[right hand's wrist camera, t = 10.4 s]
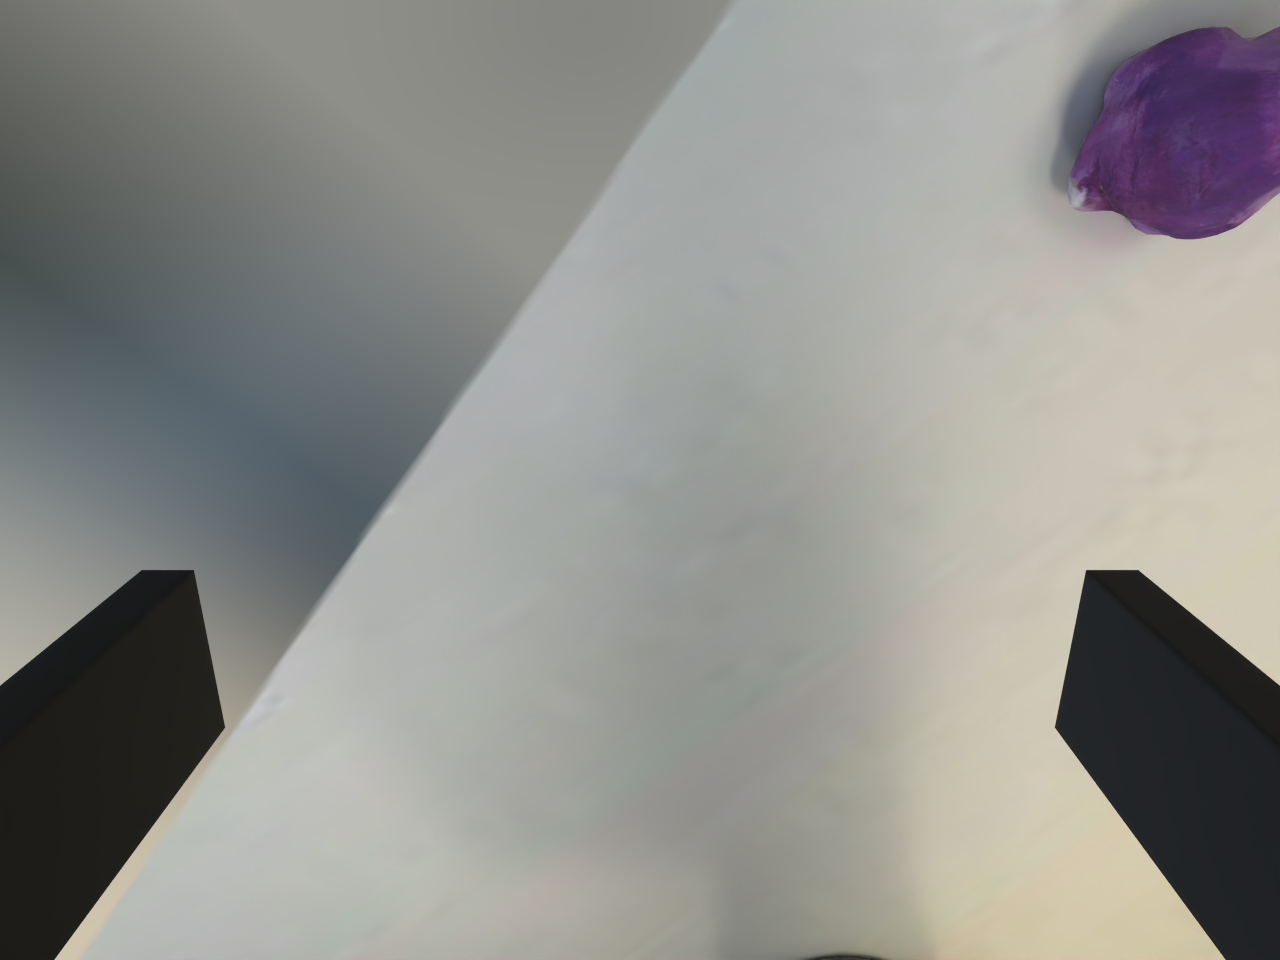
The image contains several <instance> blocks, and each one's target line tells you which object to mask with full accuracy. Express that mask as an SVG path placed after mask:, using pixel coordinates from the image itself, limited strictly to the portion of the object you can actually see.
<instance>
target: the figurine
mask: <svg viewBox="0 0 1280 960" xmlns="http://www.w3.org/2000/svg"><path fill="white" fill-rule="evenodd" d="M1279 193H1280V27H1278V28H1276V29H1273V30H1271V31H1269V32H1267V33H1265V34H1263V35H1261V36H1259V37H1255V38H1247V39H1242V38H1241V37H1240V36H1239V35H1237V34H1236V33H1235V32H1234V31H1233V30H1231V29H1229V28H1223V27H1210V28H1202V29H1196V30H1192V31H1188V32H1185V33H1182V34H1179V35H1176V36H1173V37H1171V38H1169V39H1166V40H1164V41H1162V42H1160V43H1158V44H1157V45H1155V46H1153V47H1151V48H1149V49H1146V50H1144V51H1141V52H1139V53H1138V54H1136V55H1134V56H1132V57H1131V58H1129V59H1127V60H1125V61H1124V62H1123V63H1122V64H1121V65H1120V66H1119V67H1118V68H1117V69H1116V70H1115V71H1114V72H1113V74H1112V75H1111V77H1110V79H1109V81H1108V84H1107V87H1106V90H1105V94H1104V105H1103V108H1102V111H1101V114H1100V116H1099V117H1098V119H1097V120H1096V121H1095V123H1094V124H1093V126H1092V128H1091V129H1090V131H1089V132H1088V134H1087V136H1086V139H1085V141H1084V143H1083V146H1082V148H1081V150H1080V153H1079V155H1078V157H1077V159H1076V162H1075V164H1074V166H1073V168H1072V171H1071V174H1070V178H1069V185H1068V196H1069V202H1070V205H1071V206H1072V207H1073V208H1074V209H1076V210H1079V211H1104V210H1105V211H1114V212H1117V213H1119V214H1122V215H1123V216H1125V217H1127V218H1129V219H1130V221H1131V223H1132V225H1133V226H1134V227H1135V228H1136V229H1138V230H1140V231H1142V232H1143V233H1145V234H1157V235H1168V236H1170V237H1173V238H1177V239H1200V238H1206V237H1210V236H1214V235H1218V234H1220V233H1223V232H1225V231H1228V230H1230V229H1233V228H1235V227H1237V226H1239V225H1240V224H1242V223H1243V222H1244V221H1246V220H1247V219H1248V218H1249V217H1251V216H1252V215H1253V214H1254V213H1256V212H1257V211H1258V210H1260V209H1261V208H1262V207H1263V206H1264V205H1265V204H1266V203H1268V202H1269V201H1270V200H1271V199H1272V198H1273V197H1275V196H1276V195H1277V194H1279Z"/></svg>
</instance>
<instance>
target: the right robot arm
mask: <svg viewBox="0 0 1280 960" xmlns="http://www.w3.org/2000/svg"><path fill="white" fill-rule="evenodd" d="M224 728H225V725H224V720H223V715H222V710H221V705H220V700H219V695H218V690H217V685H216V680H215V675H214V670H213V664H212V659H211V654H210V649H209V644H208V639H207V634H206V629H205V624H204V619H203V614H202V609H201V604H200V599H199V594H198V589H197V584H196V579H195V574H194V570H141V571H140V572H139V573H138V574H137V575H135V576H134V577H133V578H132V579H130V580H129V581H128V582H127V583H126V584H124V585H123V586H122V587H121V588H119V589H118V590H117V591H116V592H115V593H113V594H112V595H111V596H110V597H108V598H107V599H106V600H105V601H103V602H102V603H101V604H100V605H99V606H97V607H96V608H95V609H94V610H92V611H91V612H90V613H89V614H88V615H86V616H85V617H84V618H83V619H81V620H80V621H79V622H78V623H77V624H75V625H74V626H73V627H72V628H70V629H69V630H68V631H67V632H66V633H64V634H63V635H62V636H61V637H59V638H58V639H57V640H56V641H54V642H53V643H52V644H51V645H50V646H48V647H47V648H46V649H45V650H43V651H42V652H41V653H40V654H39V655H37V656H36V657H35V658H34V659H32V660H31V661H30V662H29V663H28V664H26V665H25V666H24V667H23V668H21V669H20V670H19V671H18V672H17V673H15V674H14V675H13V676H12V677H10V678H9V679H8V680H7V681H5V682H4V683H3V684H2V685H1V686H0V960H54V959H55V958H56V957H57V955H58V954H59V953H60V951H61V950H62V948H63V947H64V946H65V944H66V943H67V942H68V940H69V939H70V938H71V936H72V935H73V933H74V932H75V931H76V929H77V928H78V927H79V925H80V924H81V923H82V921H83V920H84V919H85V917H86V916H87V914H88V913H89V912H90V910H91V909H92V908H93V906H94V905H95V904H96V902H97V901H98V900H99V898H100V897H101V895H102V894H103V893H104V891H105V890H106V889H107V887H108V886H109V885H110V883H111V882H112V880H113V879H114V878H115V876H116V875H117V874H118V872H119V871H120V870H121V868H122V867H123V866H124V864H125V863H126V861H127V860H128V859H129V857H130V856H131V855H132V853H133V852H134V851H135V849H136V848H137V846H138V845H139V844H140V842H141V841H142V840H143V838H144V837H145V836H146V834H147V833H148V832H149V830H150V829H151V827H152V826H153V825H154V823H155V822H156V821H157V819H158V818H159V817H160V815H161V814H162V812H163V811H164V810H165V808H166V807H167V806H168V804H169V803H170V802H171V800H172V799H173V798H174V796H175V795H176V793H177V792H178V791H179V789H180V788H181V787H182V785H183V784H184V783H185V781H186V780H187V779H188V777H189V776H190V774H191V773H192V772H193V770H194V769H195V768H196V766H197V765H198V764H199V762H200V761H201V760H202V758H203V757H204V755H205V754H206V753H207V751H208V750H209V749H210V747H211V746H212V745H213V743H214V742H215V740H216V739H217V738H218V736H219V735H220V734H221V732H222V731H223V730H224ZM1055 728H1056V730H1057V731H1058V732H1059V734H1060V735H1061V736H1062V738H1063V739H1064V740H1065V742H1066V743H1067V745H1068V746H1069V747H1070V749H1071V750H1072V751H1073V753H1074V754H1075V755H1076V757H1077V758H1078V760H1079V761H1080V762H1081V764H1082V765H1083V766H1084V768H1085V769H1086V770H1087V772H1088V773H1089V774H1090V776H1091V777H1092V779H1093V780H1094V781H1095V783H1096V784H1097V785H1098V787H1099V788H1100V789H1101V791H1102V792H1103V794H1104V795H1105V796H1106V798H1107V799H1108V800H1109V802H1110V803H1111V804H1112V806H1113V807H1114V808H1115V810H1116V811H1117V813H1118V814H1119V815H1120V817H1121V818H1122V819H1123V821H1124V822H1125V823H1126V825H1127V826H1128V828H1129V829H1130V830H1131V832H1132V833H1133V834H1134V836H1135V837H1136V838H1137V840H1138V841H1139V842H1140V844H1141V845H1142V847H1143V848H1144V849H1145V851H1146V852H1147V853H1148V855H1149V856H1150V857H1151V859H1152V860H1153V861H1154V863H1155V864H1156V866H1157V867H1158V868H1159V870H1160V871H1161V872H1162V874H1163V875H1164V876H1165V878H1166V879H1167V881H1168V882H1169V883H1170V885H1171V886H1172V887H1173V889H1174V890H1175V891H1176V893H1177V894H1178V895H1179V897H1180V898H1181V900H1182V901H1183V902H1184V904H1185V905H1186V906H1187V908H1188V909H1189V910H1190V912H1191V913H1192V915H1193V916H1194V917H1195V919H1196V920H1197V921H1198V923H1199V924H1200V925H1201V927H1202V928H1203V929H1204V931H1205V932H1206V934H1207V935H1208V936H1209V938H1210V939H1211V940H1212V942H1213V943H1214V944H1215V946H1216V947H1217V948H1218V950H1219V951H1220V953H1221V954H1222V955H1223V957H1224V958H1225V959H1226V960H1280V686H1279V685H1278V684H1277V683H1276V682H1275V681H1273V680H1272V679H1271V678H1270V677H1268V676H1267V675H1266V674H1265V673H1263V672H1262V671H1261V670H1260V669H1259V668H1257V667H1256V666H1255V665H1254V664H1252V663H1251V662H1250V661H1249V660H1248V659H1246V658H1245V657H1244V656H1243V655H1241V654H1240V653H1239V652H1238V651H1237V650H1235V649H1234V648H1233V647H1232V646H1230V645H1229V644H1228V643H1227V642H1226V641H1224V640H1223V639H1222V638H1221V637H1219V636H1218V635H1217V634H1216V633H1214V632H1213V631H1212V630H1211V629H1210V628H1208V627H1207V626H1206V625H1205V624H1203V623H1202V622H1201V621H1200V620H1199V619H1197V618H1196V617H1195V616H1194V615H1192V614H1191V613H1190V612H1189V611H1188V610H1186V609H1185V608H1184V607H1183V606H1181V605H1180V604H1179V603H1178V602H1177V601H1175V600H1174V599H1173V598H1172V597H1170V596H1169V595H1168V594H1167V593H1166V592H1164V591H1163V590H1162V589H1161V588H1159V587H1158V586H1157V585H1156V584H1154V583H1153V582H1152V581H1151V580H1150V579H1148V578H1147V577H1146V576H1145V575H1143V574H1142V573H1141V572H1140V571H1139V570H1086V574H1085V579H1084V584H1083V589H1082V594H1081V599H1080V604H1079V609H1078V614H1077V619H1076V624H1075V629H1074V634H1073V639H1072V644H1071V649H1070V654H1069V659H1068V664H1067V669H1066V674H1065V679H1064V684H1063V690H1062V695H1061V700H1060V705H1059V710H1058V715H1057V720H1056V725H1055ZM819 960H870V959H863V958H850V957H839V958H826V959H819Z"/></svg>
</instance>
